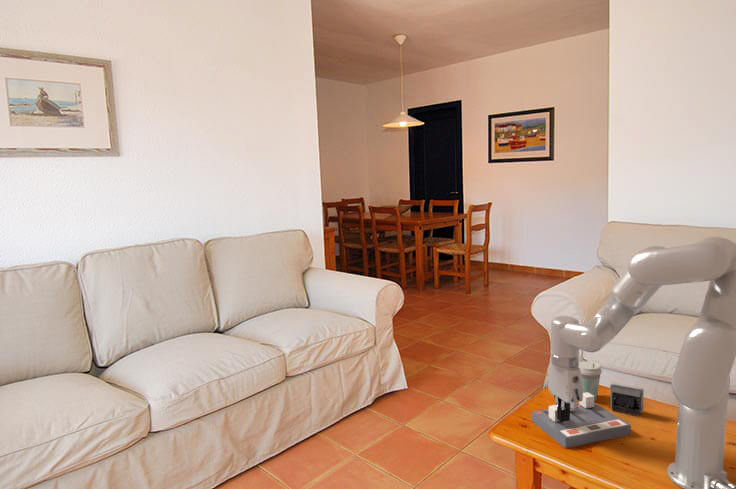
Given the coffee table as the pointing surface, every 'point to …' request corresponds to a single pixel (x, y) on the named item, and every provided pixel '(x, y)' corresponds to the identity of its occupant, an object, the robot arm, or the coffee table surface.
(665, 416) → the coffee table surface
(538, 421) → the switch unit
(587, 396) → the right switch
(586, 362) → the coffee cup
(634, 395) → the electrical switch
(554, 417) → the left switch
